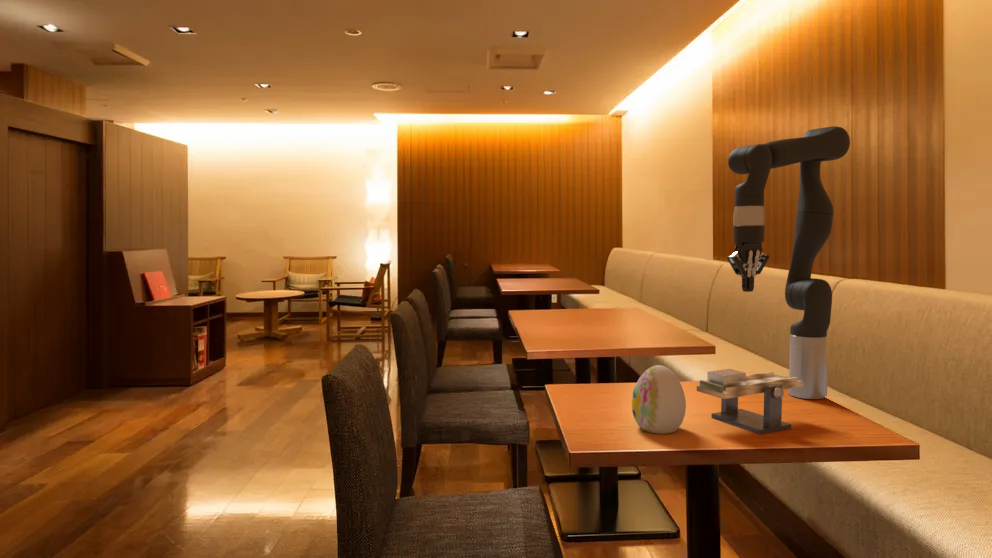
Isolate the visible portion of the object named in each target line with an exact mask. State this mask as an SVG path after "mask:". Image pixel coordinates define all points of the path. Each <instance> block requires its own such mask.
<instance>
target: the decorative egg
mask: <svg viewBox="0 0 992 558" xmlns="http://www.w3.org/2000/svg"><path fill="white" fill-rule="evenodd" d="M686 401H687V400H686V396H685V392H684V388H683V385H682V384H681V381H680V380H679V378H678V377H677V376H676V374H675V373H674V372H673V371H672V370H671V369H669V368H668V367H666V366H665V365H660V364H658V365H657V364H656V365H652V366H650V367H649V368H647V369H646V370H645V371H643V373H642V374H641V375H640V376H639V378H638V380H637V382H636V383H635V386H634V388H633V393H632V396H631V411H632V415H633V418H634V421H635V422H636V423H637V424H636V425H637V426H638V427H639V429H641V430H642V431H644V432H647V433H651V434H661V435H664V434H666V435H667V434H672V433H675V432H676V431H678V429H679V428H680V427H681V425H682V424H683V421H684V418H685V415H686V411H687V410H686V408H687V406H686V405H687V402H686Z"/></svg>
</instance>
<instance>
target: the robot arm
mask: <svg viewBox="0 0 992 558" xmlns="http://www.w3.org/2000/svg"><path fill="white" fill-rule="evenodd" d="M850 145H851V139H850V134H849V133H848V131H847V130H846V129H845V128H843V127H841V126H834V125H833V126H826V127H819V128H814V129H813V128H812V129H809V130H806V132H805V133H803V136H802V137H793V138H784V139H778V140H773V141H767V142H765V143H758V144H751V145H745V146H740V147H739V146H738V147H736V148H734V149H733V150H732V151H731V152H730V153H729V156H728V158H727V165H728V168H729V169H730V170H731V172H733V173H735V174H737V175H747V174H748V175H747V178H746V180H745V181H743V182H741V183H739V184H738V185H736V187H735V188H734V210H733V216H732V217H733V221H732V222H733V223H732V225H733V226H732V227H733V228H732V242H733V243H734V244H735V245H734V249H733V253H732V254H731V255H728V256H727V257H726V259H727V261H728V263H729V264H730V267H731V268H732V270H733V272H734V274H735V275H737V276H740V278H741V289H742V292H745V293H746V292H747V293H750V292H754V289H755V277H756V276H757V275H761V273H762V271H763V269H764V268H765V266H766V264H767V262H768V260H770V255H769V254H765V253H764V252H763V251H764V250H763V247H762V244H763V243H764V242H765V236H766V235H765V233H766V232H765V230H766V229H765V228H766V221H765V220H766V218H765V217H766V215H765V189H766V186H767V183H768V177H769V175H770V172H771V170H772V169H777V168H781V167H787V166H790V165H794V164H799V189H798V199H797V200H798V201H797V208H796V216H795V223H794V224H795V225H794V236H793V244H792V246H793V247H792V253H791V257H790V258H791V260H790V264H789V269H788V273H787V277H786V282H785V286H784V287H785V289H784V299H785V302H786V304H787V306H788V307H789V308H791V309H793V310H798V311H803V316H802V319H801V320H800V321H798V322H794V323H792V324H791V325H790V328H789V330H790V331H789V334H790V335H789V363H788V365H789V366H788V367H789V370H788V371H789V372H788V373H789V374H788V376H789V377H788V378H793V377H798V380H801V381H804V386H801V387H795V388H789V389H788V395H789V396H792V397H795V398H799V399H805V400H806V399H807V400H822V399H825V398H826V397H827V396H828V382H829V381H828V376H829V375H828V374H829V363H828V362H827V345H828V343H827V340H828V337H827V336H828V330H829V327H830V325H831V317H832V307H833V292H832V287H831V285H830V283H829V282H828V281H827V280H825V279H822V278H814V277H813V278H812V271H813V266H814V262H815V259H816V258H817V256H818V255H819V252H820V251H821V250H822V248H823V247H824V245H825V244H826V242H827V240H828V239H829V238H830V235H831V232H832V227H833V220H834V206H833V202H832V201H831V199H830V197H829V195H828V192H826V190H825V188H824V186H823V183H822V180H821V164H822V162H830V161H837V160H840V159H842V158H843V157H844V156H845V155H846V154H847V153H848V151H849V149H850Z"/></svg>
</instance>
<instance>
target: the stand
mask: <svg viewBox="0 0 992 558" xmlns="http://www.w3.org/2000/svg"><path fill="white" fill-rule="evenodd" d="M784 393H785V392H784V389H782V385H779V384H772V385H765V386H764V393H763V414H759V413H756V412H753V411H749V410H746V409H742V408H739V397H734V398H728V399H722V398H720V399H721V400H720V401H721V403H720V404H721V405H720V407H721V408H720V411H718V412H712V413H711V418H712V419H715V420H717V421H720V422H723V423H726V424H729V425H733V426H735V427H738V428H740V429H744V430H747V431H750V432H752V433H756V434H758V435H763V434H768V433H769V434H770V433H775V432H779V431H783V430H784V431H785V430H789V429H792V424H791V423H789V422H784V421H783V420H782V415H783V414H782V413H783V397H784Z"/></svg>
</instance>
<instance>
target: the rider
mask: <svg viewBox="0 0 992 558" xmlns="http://www.w3.org/2000/svg"><path fill="white" fill-rule="evenodd" d="M706 375H707V380H706V381H707V382H711V383H714V384H718V385H721V386H723V391H726V388H728V387H734V386H741V385H746V375H747V372H744V371H740V370H735V369H732V368H726V369H725V368H724V369H719V370H710V371H707V374H706Z"/></svg>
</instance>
